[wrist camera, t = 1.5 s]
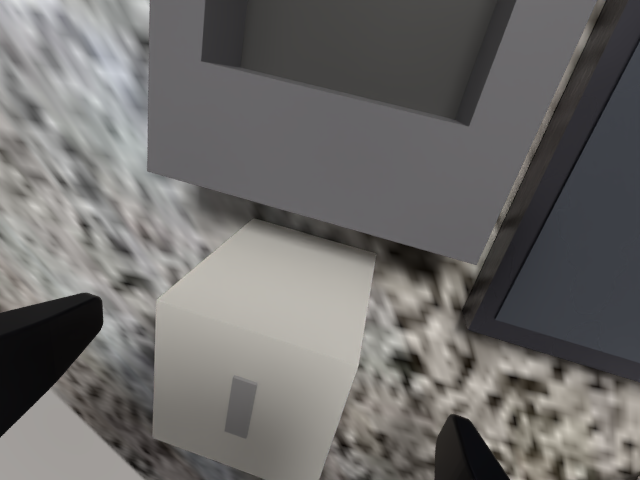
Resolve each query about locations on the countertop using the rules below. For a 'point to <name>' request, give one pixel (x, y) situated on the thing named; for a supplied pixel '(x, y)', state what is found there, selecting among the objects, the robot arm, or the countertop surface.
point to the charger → (261, 350)
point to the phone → (577, 219)
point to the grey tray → (359, 106)
